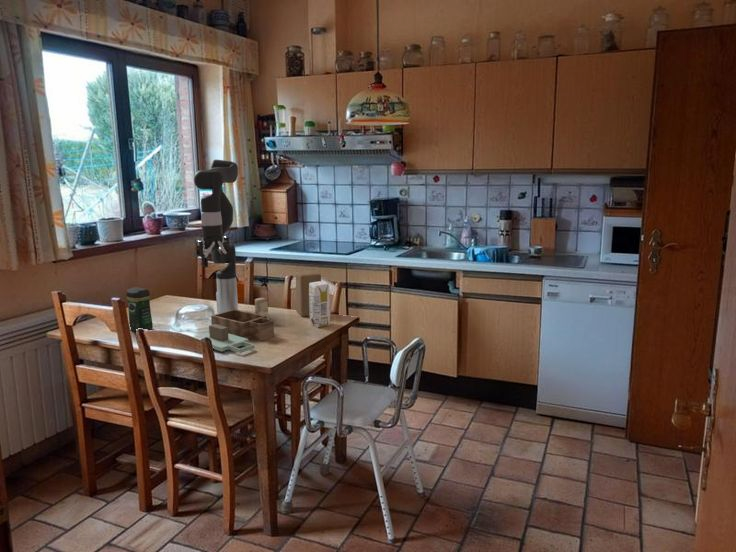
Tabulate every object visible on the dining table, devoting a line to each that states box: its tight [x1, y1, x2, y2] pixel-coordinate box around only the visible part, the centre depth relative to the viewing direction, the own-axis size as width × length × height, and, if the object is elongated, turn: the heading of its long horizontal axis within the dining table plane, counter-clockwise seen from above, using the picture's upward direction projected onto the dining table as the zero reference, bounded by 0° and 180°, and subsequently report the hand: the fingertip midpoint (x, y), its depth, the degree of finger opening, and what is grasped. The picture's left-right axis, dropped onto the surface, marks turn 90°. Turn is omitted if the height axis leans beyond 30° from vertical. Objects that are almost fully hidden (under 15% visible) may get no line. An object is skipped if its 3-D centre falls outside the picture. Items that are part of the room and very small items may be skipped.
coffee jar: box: [126, 286, 154, 332], centre depth 245 cm, size 10×8×19 cm
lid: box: [194, 324, 256, 354], centre depth 224 cm, size 27×13×8 cm, turn 52°
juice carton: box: [309, 280, 331, 329], centre depth 250 cm, size 8×9×19 cm
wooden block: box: [295, 270, 322, 318], centre depth 268 cm, size 10×10×20 cm
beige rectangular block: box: [254, 297, 269, 319], centre depth 255 cm, size 4×4×11 cm
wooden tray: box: [210, 309, 275, 342], centre depth 240 cm, size 27×13×7 cm, turn 54°
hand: (214, 265), depth 220 cm, fingers open, 8 cm apart
